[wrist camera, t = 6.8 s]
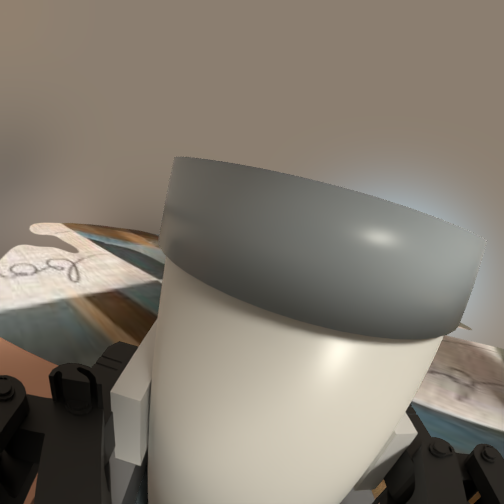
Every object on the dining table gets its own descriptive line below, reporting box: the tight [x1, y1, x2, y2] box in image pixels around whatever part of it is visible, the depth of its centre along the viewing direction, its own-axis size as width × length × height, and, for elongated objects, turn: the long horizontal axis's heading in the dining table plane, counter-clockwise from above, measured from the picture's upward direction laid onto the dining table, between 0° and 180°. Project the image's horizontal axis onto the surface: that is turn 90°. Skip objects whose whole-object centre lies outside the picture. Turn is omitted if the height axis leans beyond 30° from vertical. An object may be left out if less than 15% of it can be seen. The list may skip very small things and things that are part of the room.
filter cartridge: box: [148, 157, 487, 504], centre depth 8 cm, size 7×7×15 cm
